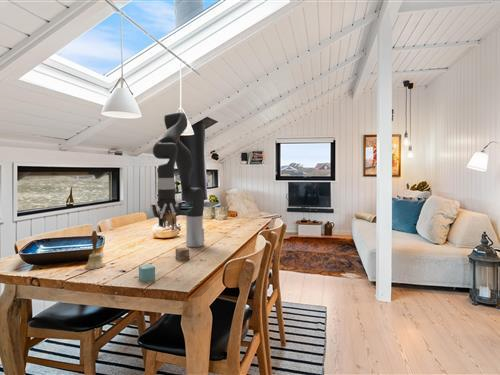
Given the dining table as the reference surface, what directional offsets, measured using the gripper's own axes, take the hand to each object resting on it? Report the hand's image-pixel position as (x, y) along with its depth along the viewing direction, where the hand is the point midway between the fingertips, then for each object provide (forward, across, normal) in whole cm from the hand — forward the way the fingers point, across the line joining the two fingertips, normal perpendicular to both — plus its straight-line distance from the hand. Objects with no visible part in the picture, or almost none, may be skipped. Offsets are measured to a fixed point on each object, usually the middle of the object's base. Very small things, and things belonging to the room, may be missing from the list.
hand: (167, 225), depth 140 cm
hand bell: (+18, +27, -16) cm, 37 cm away
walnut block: (+19, -10, -6) cm, 22 cm away
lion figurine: (+1, 0, +1) cm, 2 cm away
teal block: (+18, +13, +12) cm, 25 cm away
